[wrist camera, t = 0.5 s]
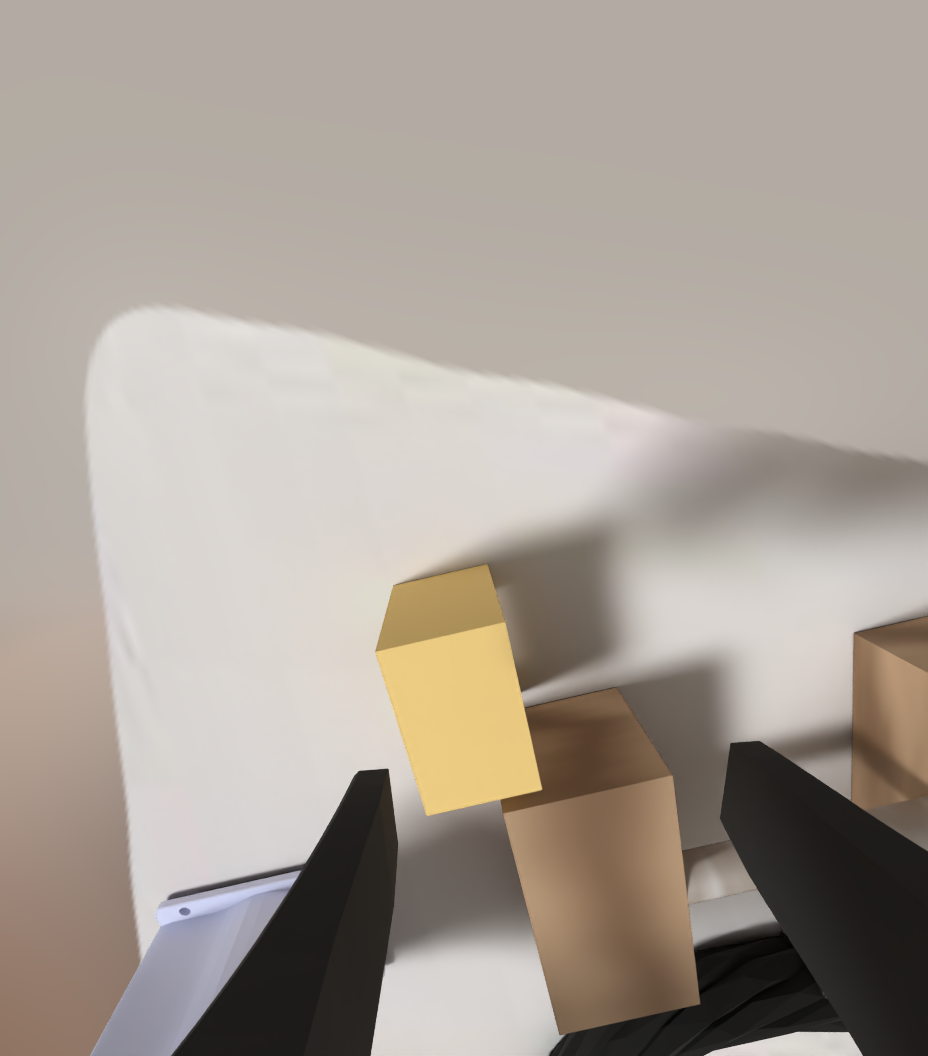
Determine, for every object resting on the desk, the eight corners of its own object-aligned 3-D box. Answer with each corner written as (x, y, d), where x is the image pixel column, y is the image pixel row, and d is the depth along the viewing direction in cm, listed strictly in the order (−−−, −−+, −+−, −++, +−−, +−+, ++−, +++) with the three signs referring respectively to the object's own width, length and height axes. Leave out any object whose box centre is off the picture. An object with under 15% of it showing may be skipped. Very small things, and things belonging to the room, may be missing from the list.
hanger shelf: (534, 904, 23) (559, 1035, 18) (487, 716, 20) (503, 813, 15) (963, 808, 23) (1103, 915, 18) (984, 603, 20) (1159, 665, 15)
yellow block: (430, 713, 20) (426, 816, 15) (393, 585, 18) (374, 652, 13) (516, 694, 20) (542, 789, 15) (487, 563, 18) (505, 621, 13)
